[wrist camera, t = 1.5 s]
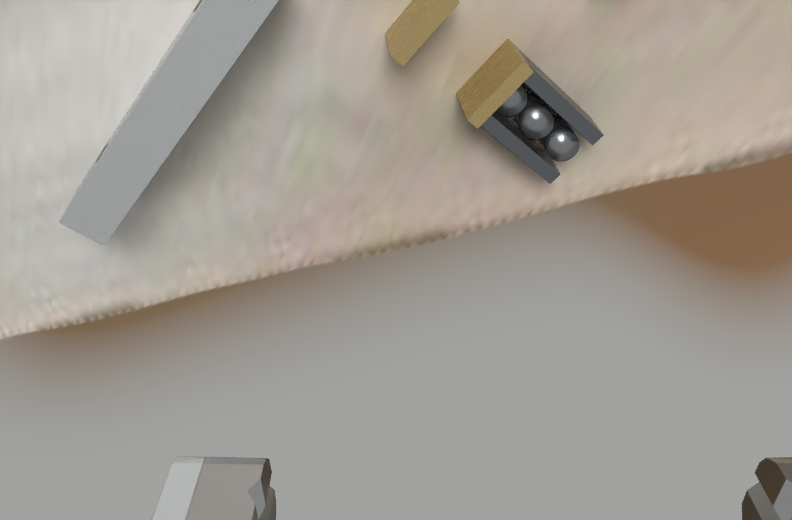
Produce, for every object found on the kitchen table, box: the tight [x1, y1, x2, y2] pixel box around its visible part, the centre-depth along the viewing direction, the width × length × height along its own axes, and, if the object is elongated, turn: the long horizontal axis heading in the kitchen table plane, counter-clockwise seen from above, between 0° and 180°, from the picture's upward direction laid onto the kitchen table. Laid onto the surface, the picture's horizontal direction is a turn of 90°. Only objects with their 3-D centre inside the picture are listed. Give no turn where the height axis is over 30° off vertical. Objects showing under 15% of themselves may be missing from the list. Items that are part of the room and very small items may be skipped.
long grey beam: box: [59, 0, 279, 245], centre depth 34 cm, size 3×17×5 cm, turn 140°
